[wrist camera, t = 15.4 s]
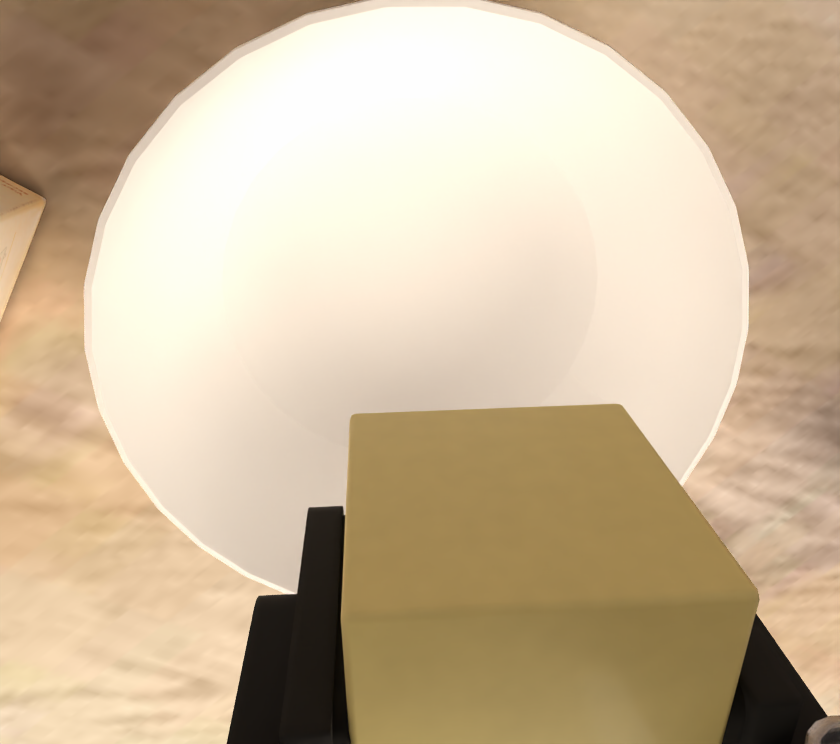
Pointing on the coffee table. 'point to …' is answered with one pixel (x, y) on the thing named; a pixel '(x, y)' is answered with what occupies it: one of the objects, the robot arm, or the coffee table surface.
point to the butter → (532, 584)
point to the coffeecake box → (15, 232)
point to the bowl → (402, 259)
